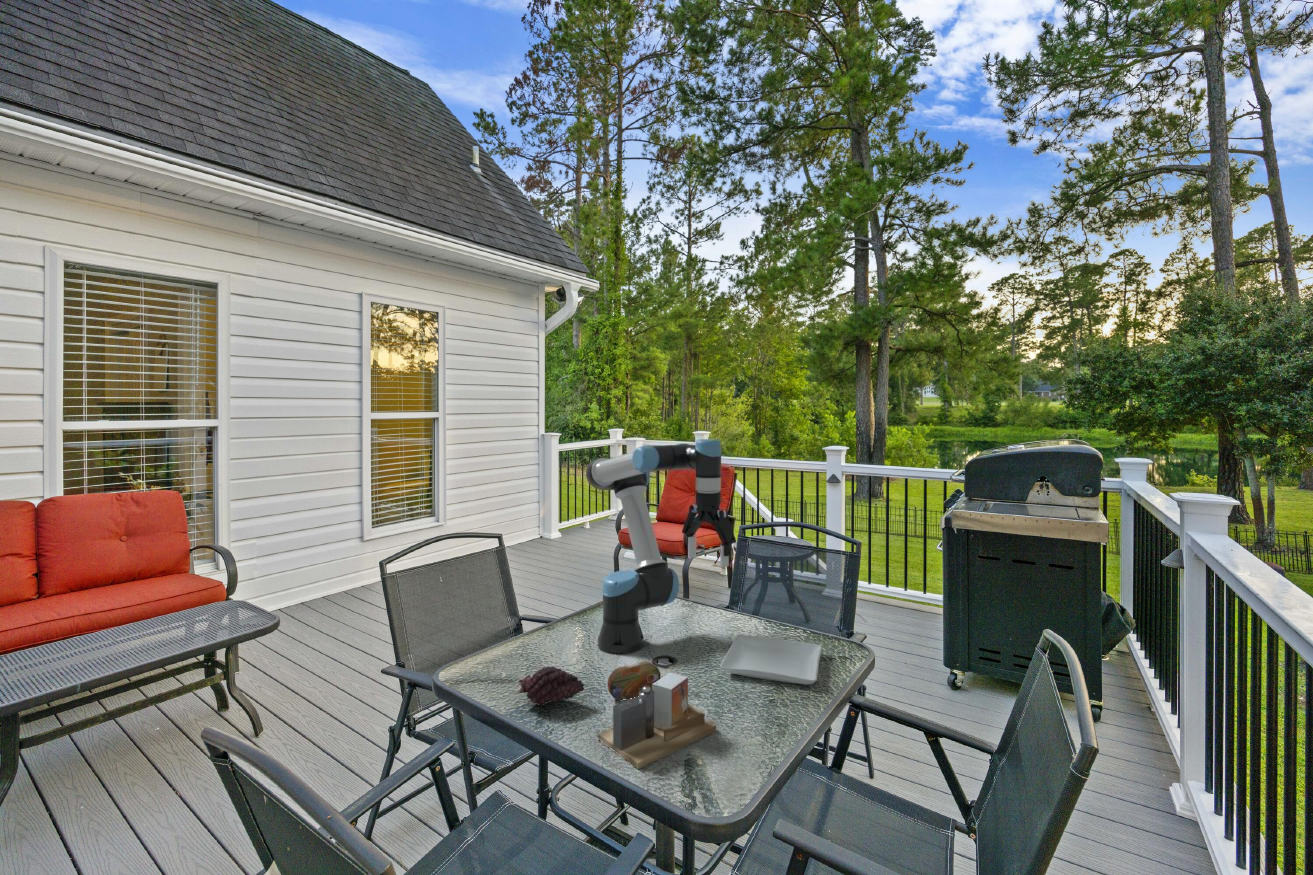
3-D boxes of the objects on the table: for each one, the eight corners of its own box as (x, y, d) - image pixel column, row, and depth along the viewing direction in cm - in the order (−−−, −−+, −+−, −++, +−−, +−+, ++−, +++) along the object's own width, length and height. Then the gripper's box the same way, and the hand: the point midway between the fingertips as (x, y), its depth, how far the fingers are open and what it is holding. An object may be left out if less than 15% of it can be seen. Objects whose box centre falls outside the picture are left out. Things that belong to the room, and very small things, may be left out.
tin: (610, 704, 158) (610, 672, 157) (605, 699, 160) (605, 668, 160) (661, 691, 164) (661, 661, 164) (655, 687, 167) (655, 657, 167)
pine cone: (587, 696, 161) (587, 660, 161) (579, 715, 151) (579, 677, 151) (523, 694, 163) (522, 658, 162) (511, 712, 153) (510, 674, 152)
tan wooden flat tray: (598, 740, 140) (598, 723, 140) (674, 707, 156) (674, 692, 156) (637, 769, 129) (637, 751, 129) (716, 730, 144) (716, 714, 144)
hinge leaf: (612, 744, 136) (612, 695, 135) (647, 728, 143) (647, 682, 142) (622, 751, 133) (621, 701, 133) (657, 734, 140) (657, 687, 139)
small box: (671, 733, 140) (671, 689, 140) (651, 726, 143) (651, 683, 143) (688, 718, 147) (688, 676, 147) (669, 712, 150) (669, 671, 150)
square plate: (816, 693, 164) (816, 679, 164) (718, 678, 173) (718, 665, 173) (822, 654, 190) (822, 642, 190) (736, 643, 199) (737, 632, 199)
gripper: (748, 494, 171) (748, 568, 172) (688, 486, 190) (688, 552, 191) (730, 497, 166) (730, 573, 167) (670, 488, 185) (670, 556, 186)
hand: (707, 562), depth 179 cm, fingers open, 13 cm apart
